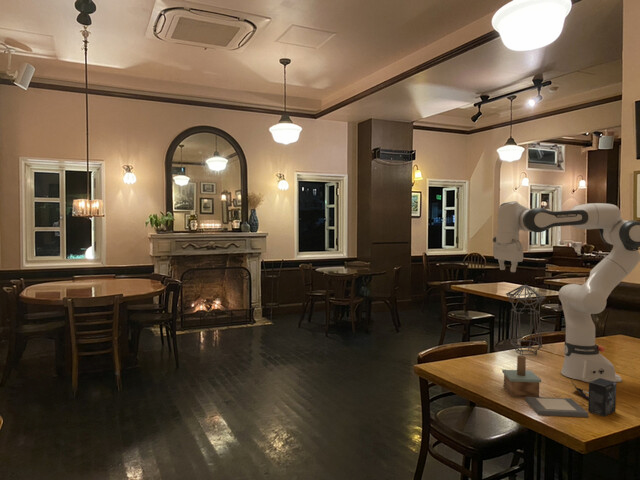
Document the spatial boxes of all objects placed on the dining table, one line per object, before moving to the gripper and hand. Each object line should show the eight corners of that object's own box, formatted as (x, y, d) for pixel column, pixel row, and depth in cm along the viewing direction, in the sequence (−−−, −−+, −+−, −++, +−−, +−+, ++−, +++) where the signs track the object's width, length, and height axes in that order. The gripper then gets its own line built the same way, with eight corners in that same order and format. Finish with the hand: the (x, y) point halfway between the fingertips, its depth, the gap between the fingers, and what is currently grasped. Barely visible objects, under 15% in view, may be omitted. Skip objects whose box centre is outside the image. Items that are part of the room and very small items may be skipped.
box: (605, 417, 155) (605, 386, 155) (587, 411, 160) (588, 381, 160) (616, 412, 159) (616, 381, 159) (598, 406, 164) (599, 377, 164)
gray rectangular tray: (571, 402, 168) (571, 398, 168) (588, 417, 155) (588, 412, 155) (525, 400, 170) (525, 396, 170) (538, 415, 157) (538, 410, 157)
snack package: (603, 393, 178) (569, 389, 182) (604, 378, 177) (570, 374, 181) (610, 410, 167) (574, 405, 171) (612, 394, 166) (575, 389, 170)
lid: (530, 373, 183) (531, 353, 182) (541, 382, 172) (541, 361, 171) (502, 372, 184) (502, 352, 184) (510, 381, 173) (511, 360, 173)
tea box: (530, 388, 182) (530, 373, 182) (539, 397, 172) (539, 382, 172) (503, 387, 183) (503, 372, 183) (511, 396, 173) (511, 381, 173)
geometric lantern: (547, 358, 225) (547, 287, 224) (513, 357, 227) (513, 287, 226) (536, 349, 241) (535, 282, 239) (504, 348, 243) (504, 282, 241)
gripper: (527, 239, 189) (527, 273, 189) (504, 238, 209) (503, 268, 210) (512, 239, 188) (512, 273, 189) (490, 238, 209) (490, 268, 209)
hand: (507, 270), depth 199 cm, fingers open, 8 cm apart
